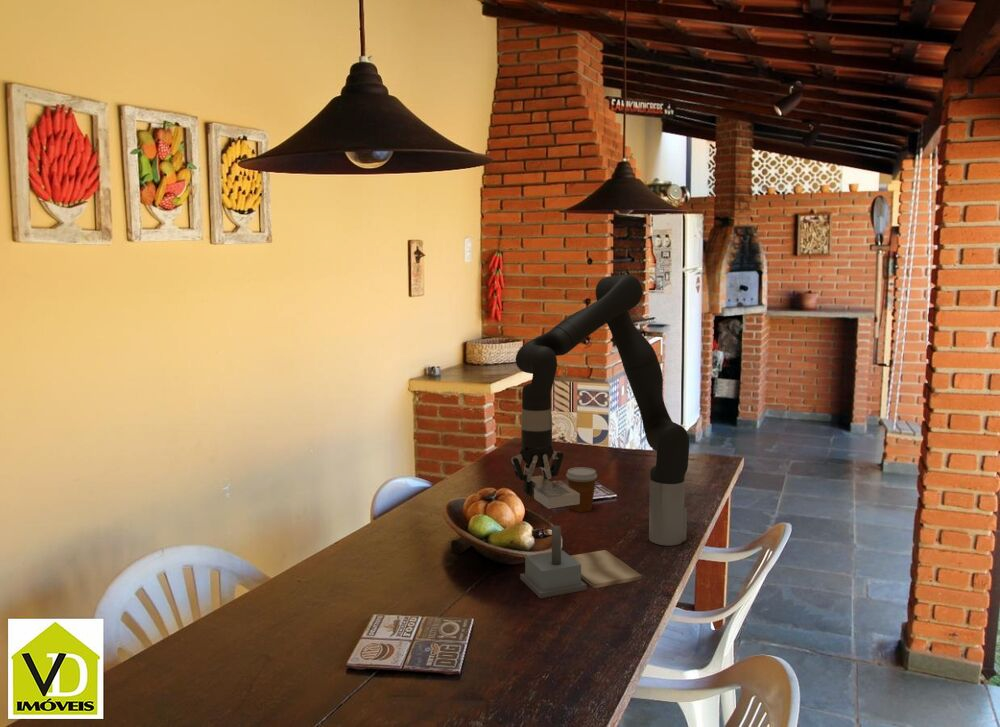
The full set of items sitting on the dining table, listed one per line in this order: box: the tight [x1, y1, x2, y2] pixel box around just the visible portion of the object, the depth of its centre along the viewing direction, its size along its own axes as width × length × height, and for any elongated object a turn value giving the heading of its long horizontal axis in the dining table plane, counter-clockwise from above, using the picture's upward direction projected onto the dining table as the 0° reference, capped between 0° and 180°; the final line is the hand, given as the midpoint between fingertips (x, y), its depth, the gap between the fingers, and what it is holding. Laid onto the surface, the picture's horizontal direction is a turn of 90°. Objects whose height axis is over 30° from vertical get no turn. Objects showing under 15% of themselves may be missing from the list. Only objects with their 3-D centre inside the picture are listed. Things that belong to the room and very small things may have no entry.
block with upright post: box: [519, 524, 588, 599], centre depth 188 cm, size 12×12×15 cm
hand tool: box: [450, 537, 472, 555], centre depth 216 cm, size 19×4×5 cm, turn 142°
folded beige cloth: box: [570, 549, 643, 589], centre depth 197 cm, size 13×18×1 cm
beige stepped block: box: [531, 475, 580, 510], centre depth 188 cm, size 17×8×2 cm, turn 22°
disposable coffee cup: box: [565, 466, 598, 513], centre depth 243 cm, size 10×10×12 cm
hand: (537, 494), depth 195 cm, fingers closed on beige stepped block, 4 cm apart
